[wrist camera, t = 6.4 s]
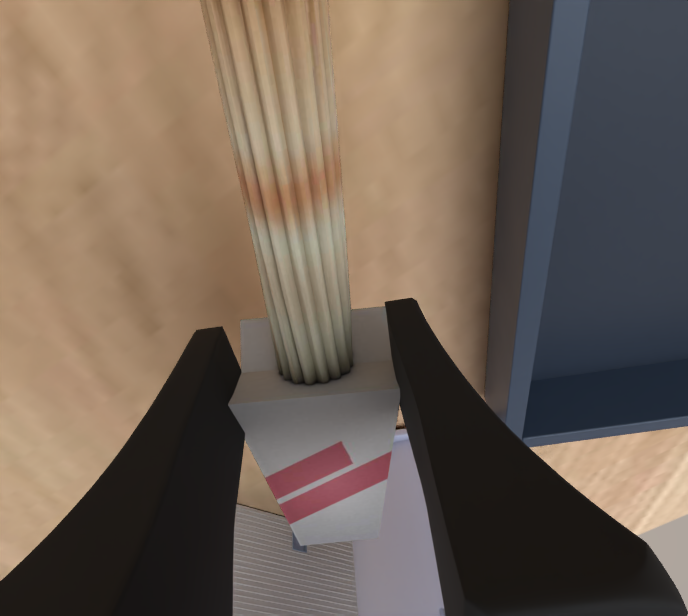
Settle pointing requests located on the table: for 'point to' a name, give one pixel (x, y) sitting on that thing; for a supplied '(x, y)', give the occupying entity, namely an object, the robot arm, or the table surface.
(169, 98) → the table surface
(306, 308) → the churro in paper sleeve
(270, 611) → the slanted gray block
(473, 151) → the table surface
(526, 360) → the dark blue tray
